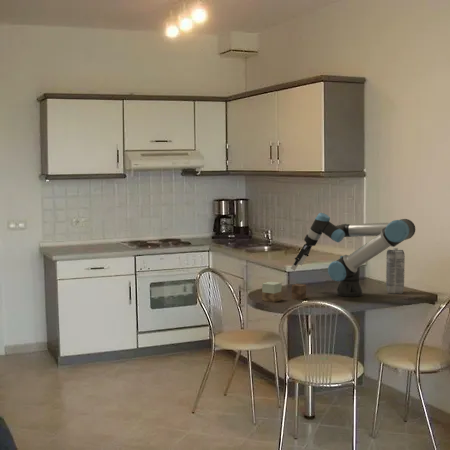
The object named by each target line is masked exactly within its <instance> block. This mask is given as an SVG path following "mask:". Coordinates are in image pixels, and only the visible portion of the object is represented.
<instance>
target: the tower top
mask: <svg viewBox="0 0 450 450" xmlns="http://www.w3.org/2000/svg"><path fill="white" fill-rule="evenodd" d="M261 286H262V287H261V290H262V291H261V293H262V292H265V293H273V294H275V293H278V292H282V289H283V288H282V282H277V281H276V282H275V281H267V282H262V284H261Z"/></svg>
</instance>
